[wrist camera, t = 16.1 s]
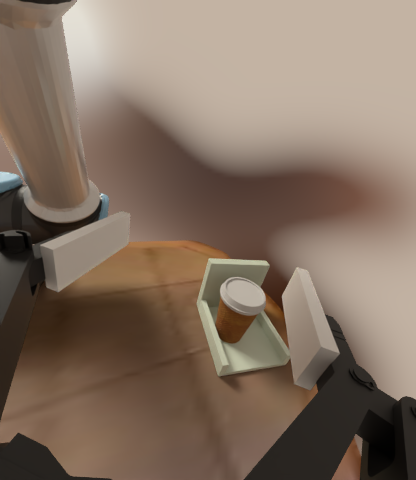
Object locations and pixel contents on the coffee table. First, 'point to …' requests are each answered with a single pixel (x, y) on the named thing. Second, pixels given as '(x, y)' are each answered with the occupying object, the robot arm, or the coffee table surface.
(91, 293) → the coffee table surface
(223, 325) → the disposable coffee cup
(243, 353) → the pale green l-shaped stand
